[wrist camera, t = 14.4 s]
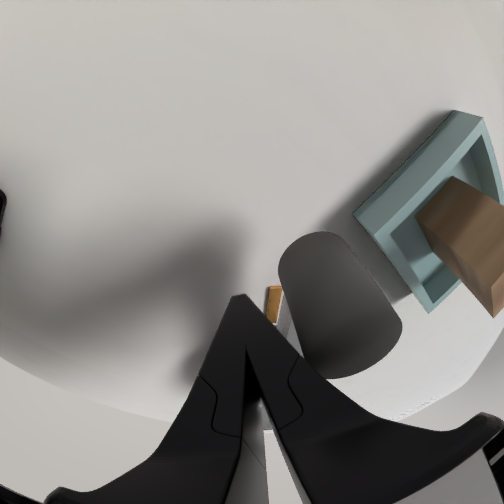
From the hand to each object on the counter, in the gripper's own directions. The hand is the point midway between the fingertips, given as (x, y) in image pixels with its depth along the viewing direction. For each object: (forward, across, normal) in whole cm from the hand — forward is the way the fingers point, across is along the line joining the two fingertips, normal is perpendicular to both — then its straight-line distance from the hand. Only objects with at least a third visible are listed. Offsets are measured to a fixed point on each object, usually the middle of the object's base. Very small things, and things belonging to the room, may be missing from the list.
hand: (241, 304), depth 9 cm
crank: (+3, -2, +7) cm, 7 cm away
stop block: (+5, -14, +2) cm, 15 cm away
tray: (+6, -14, +2) cm, 15 cm away
